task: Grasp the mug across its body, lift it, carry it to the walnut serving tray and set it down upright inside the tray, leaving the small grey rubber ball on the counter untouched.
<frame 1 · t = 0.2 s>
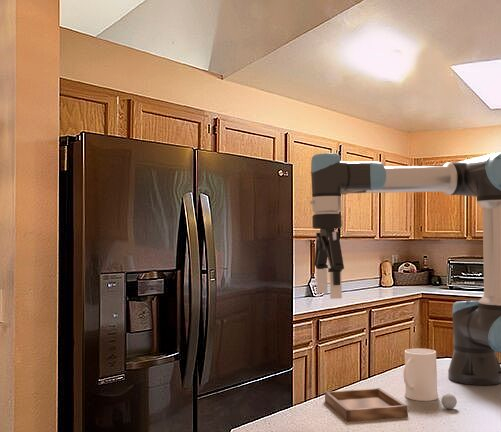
hand: (328, 295, 157), 28 cm above the counter, fingers open, 13 cm apart
tray: (364, 408, 151), on the counter
mug: (417, 398, 160), on the counter
ball: (449, 408, 149), on the counter
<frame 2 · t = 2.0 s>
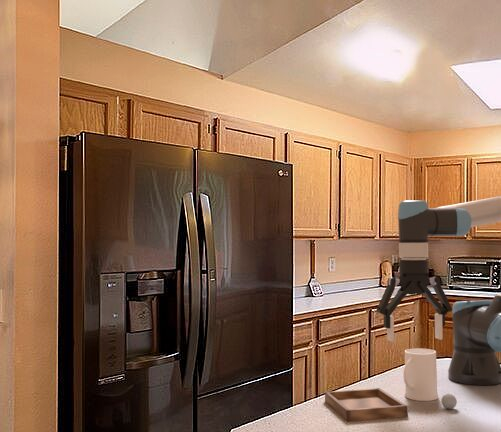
hand: (414, 339, 160), 15 cm above the counter, fingers open, 13 cm apart
nothing on the counter moved.
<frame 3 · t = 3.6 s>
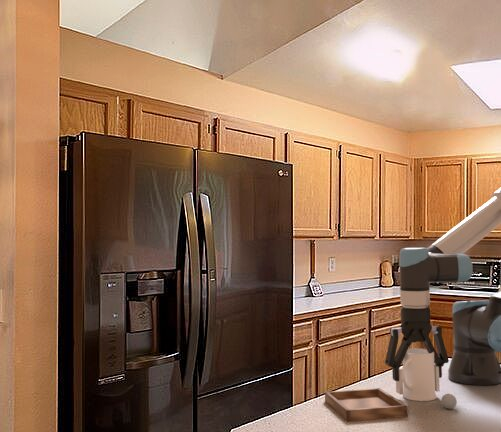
hand: (417, 391, 160), 2 cm above the counter, fingers closed on mug, 9 cm apart
mug: (415, 398, 160), on the counter, touching gripper
everything else where it was.
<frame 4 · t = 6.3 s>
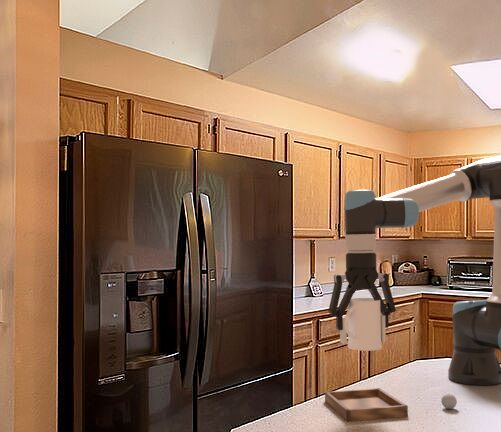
hand: (362, 342, 151), 16 cm above the counter, fingers closed on mug, 9 cm apart
mug: (360, 349, 151), point 15 cm above the counter, touching gripper
everything else where it was.
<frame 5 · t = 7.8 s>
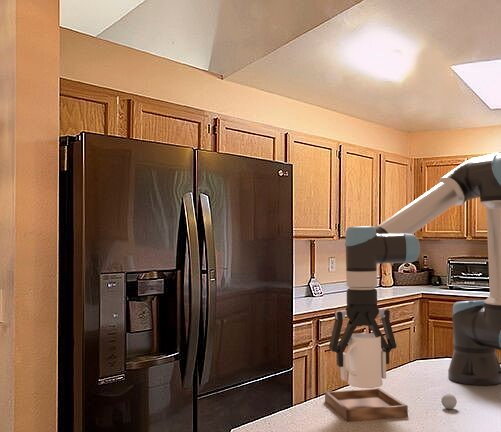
hand: (363, 378, 151), 7 cm above the counter, fingers closed on mug, 9 cm apart
mug: (360, 385, 151), point 6 cm above the counter, touching gripper
everything else where it was.
when the fingers open (4 cm above the counter, at t = 9.0 s): mug drops 1 cm, resting on tray.
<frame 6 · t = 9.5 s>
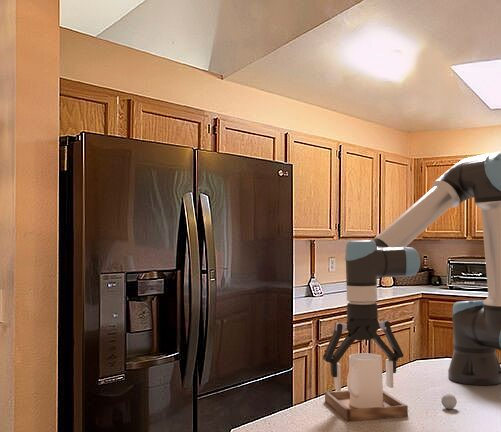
hand: (364, 388, 151), 5 cm above the counter, fingers open, 13 cm apart
mug: (362, 406, 150), point 1 cm above the counter, touching tray
everything else where it was.
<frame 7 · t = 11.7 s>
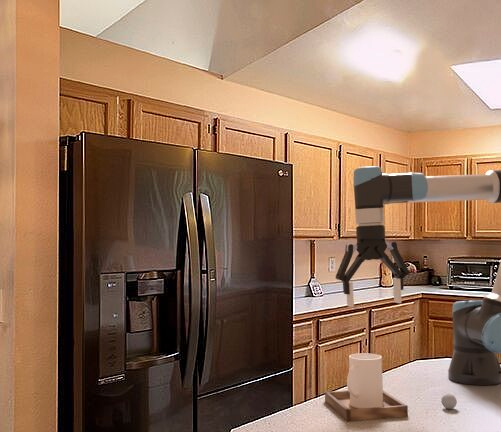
hand: (374, 304, 162), 24 cm above the counter, fingers open, 13 cm apart
nothing on the counter moved.
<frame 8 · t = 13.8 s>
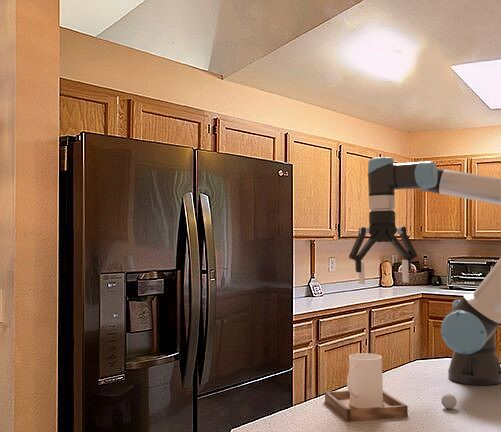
hand: (383, 283, 178), 29 cm above the counter, fingers open, 13 cm apart
nothing on the counter moved.
at the end: mug inside the target area on the tray (0.7 cm from its centre), point 0.6 cm above the tray's base; mug tilted 0°; the gripper is holding nothing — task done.
